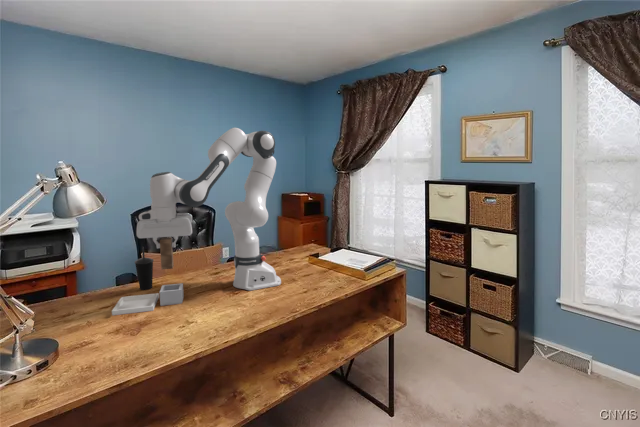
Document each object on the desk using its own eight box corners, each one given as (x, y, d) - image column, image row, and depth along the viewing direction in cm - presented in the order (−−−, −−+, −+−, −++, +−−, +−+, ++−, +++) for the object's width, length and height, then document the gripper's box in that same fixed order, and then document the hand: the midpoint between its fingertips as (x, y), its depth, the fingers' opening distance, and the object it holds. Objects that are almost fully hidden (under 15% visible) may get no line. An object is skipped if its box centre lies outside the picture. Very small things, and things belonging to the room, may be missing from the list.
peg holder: (183, 297, 146) (182, 283, 145) (182, 305, 139) (181, 289, 138) (163, 300, 144) (162, 285, 143) (160, 307, 136) (159, 292, 135)
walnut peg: (173, 265, 141) (171, 237, 139) (172, 268, 137) (170, 239, 136) (162, 266, 140) (161, 237, 138) (161, 269, 136) (159, 240, 134)
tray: (158, 298, 145) (158, 293, 145) (153, 312, 132) (152, 306, 132) (121, 302, 141) (121, 297, 141) (112, 317, 128) (111, 311, 128)
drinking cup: (148, 293, 151) (144, 249, 148) (133, 292, 153) (129, 248, 150) (159, 287, 158) (156, 245, 155) (144, 286, 160) (141, 244, 157)
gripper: (192, 211, 141) (194, 244, 143) (137, 213, 135) (140, 247, 137) (191, 213, 135) (193, 247, 137) (133, 215, 130) (136, 251, 132)
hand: (166, 247), depth 137 cm, fingers closed on walnut peg, 4 cm apart
